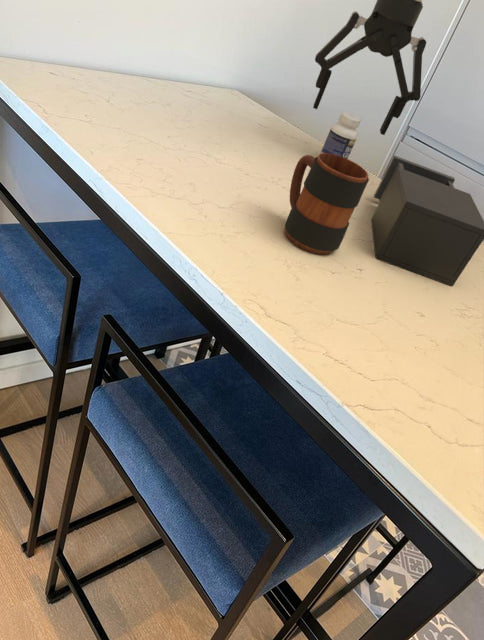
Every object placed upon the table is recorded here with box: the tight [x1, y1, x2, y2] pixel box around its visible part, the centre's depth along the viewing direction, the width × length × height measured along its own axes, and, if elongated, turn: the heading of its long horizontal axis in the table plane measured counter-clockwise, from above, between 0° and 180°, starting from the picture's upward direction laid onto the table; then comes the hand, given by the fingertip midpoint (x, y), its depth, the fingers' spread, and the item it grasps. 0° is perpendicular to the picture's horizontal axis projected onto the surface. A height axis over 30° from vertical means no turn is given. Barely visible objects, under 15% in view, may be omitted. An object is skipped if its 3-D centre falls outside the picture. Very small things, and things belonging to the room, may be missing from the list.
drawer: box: [373, 155, 456, 203], centre depth 99 cm, size 18×11×8 cm, turn 170°
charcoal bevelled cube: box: [370, 167, 484, 287], centre depth 89 cm, size 15×13×10 cm
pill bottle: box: [319, 111, 362, 160], centre depth 111 cm, size 5×5×10 cm
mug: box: [284, 152, 370, 255], centre depth 81 cm, size 9×12×12 cm
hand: (348, 120), depth 108 cm, fingers open, 13 cm apart
